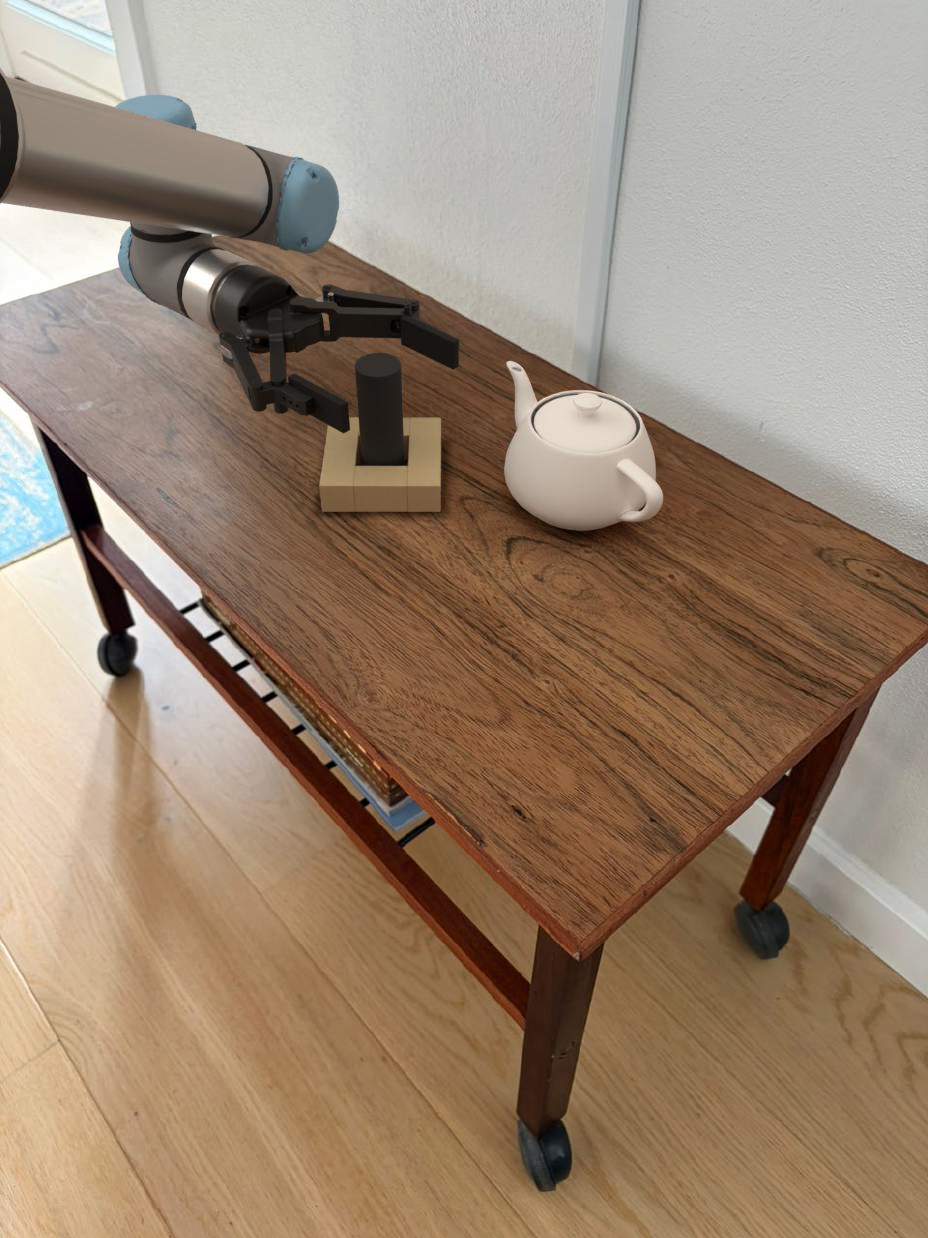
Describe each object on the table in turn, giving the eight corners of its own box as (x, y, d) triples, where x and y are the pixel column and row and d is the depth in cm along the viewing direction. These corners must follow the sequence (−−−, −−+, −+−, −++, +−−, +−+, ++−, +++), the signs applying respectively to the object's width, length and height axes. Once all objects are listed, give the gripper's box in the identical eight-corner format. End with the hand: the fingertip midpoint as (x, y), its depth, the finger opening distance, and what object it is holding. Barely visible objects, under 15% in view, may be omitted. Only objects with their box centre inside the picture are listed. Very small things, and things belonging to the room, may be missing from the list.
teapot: (707, 533, 91) (730, 432, 84) (586, 589, 86) (600, 487, 78) (559, 415, 104) (568, 319, 97) (446, 458, 99) (446, 359, 91)
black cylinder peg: (371, 493, 95) (364, 380, 86) (356, 469, 97) (348, 358, 89) (411, 482, 96) (408, 370, 88) (395, 459, 99) (390, 348, 90)
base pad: (322, 511, 93) (319, 485, 91) (331, 442, 100) (329, 416, 98) (440, 512, 93) (440, 485, 91) (441, 442, 101) (441, 417, 99)
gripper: (340, 294, 107) (495, 367, 97) (141, 389, 93) (298, 485, 83) (335, 223, 101) (498, 293, 91) (123, 314, 88) (288, 407, 78)
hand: (403, 385), depth 87 cm, fingers open, 13 cm apart
